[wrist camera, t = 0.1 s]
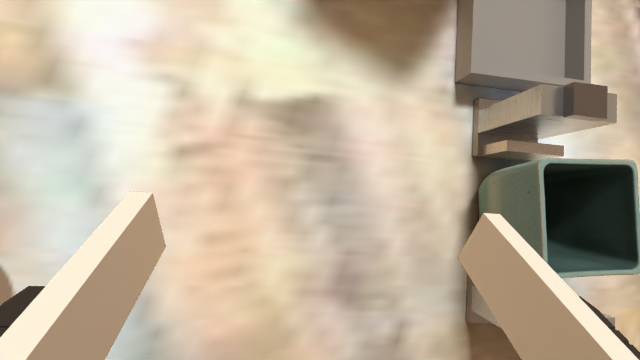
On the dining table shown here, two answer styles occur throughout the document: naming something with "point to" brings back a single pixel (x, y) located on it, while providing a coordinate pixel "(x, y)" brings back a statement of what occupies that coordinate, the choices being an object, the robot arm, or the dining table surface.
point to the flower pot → (571, 212)
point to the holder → (533, 138)
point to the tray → (523, 43)
